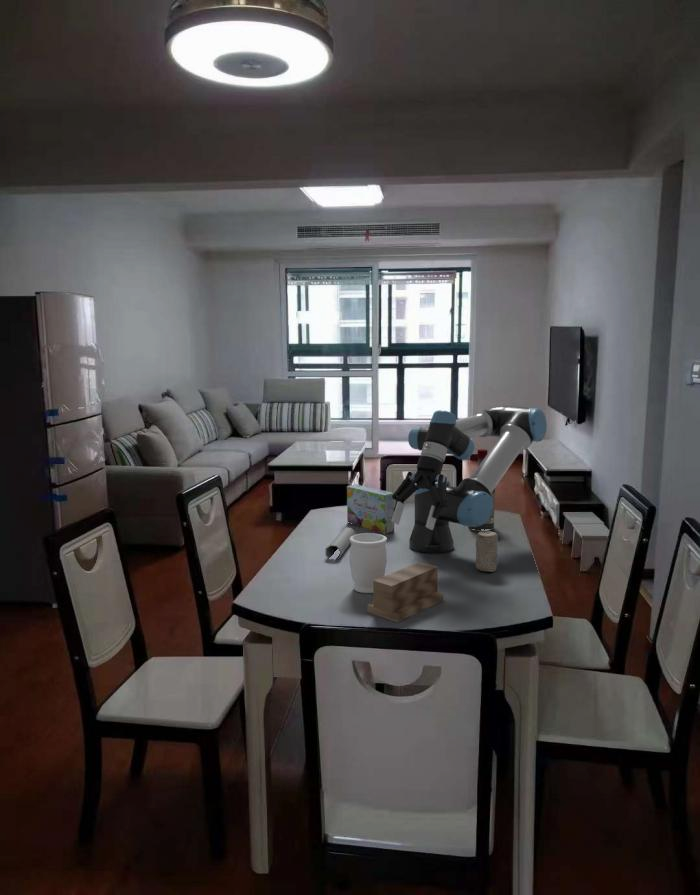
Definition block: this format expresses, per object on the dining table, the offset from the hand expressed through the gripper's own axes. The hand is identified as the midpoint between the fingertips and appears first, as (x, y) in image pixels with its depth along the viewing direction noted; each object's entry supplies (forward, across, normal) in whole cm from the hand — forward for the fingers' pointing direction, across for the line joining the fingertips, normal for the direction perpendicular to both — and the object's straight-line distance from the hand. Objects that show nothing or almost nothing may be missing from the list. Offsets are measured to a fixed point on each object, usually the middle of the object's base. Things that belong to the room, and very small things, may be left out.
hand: (411, 525), depth 197 cm
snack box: (-4, -49, +32) cm, 59 cm away
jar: (+22, -3, -6) cm, 23 cm away
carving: (+4, +11, +27) cm, 29 cm away
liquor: (-16, -20, +59) cm, 65 cm away
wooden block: (+23, +13, -7) cm, 28 cm away
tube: (+10, -37, +10) cm, 39 cm away
